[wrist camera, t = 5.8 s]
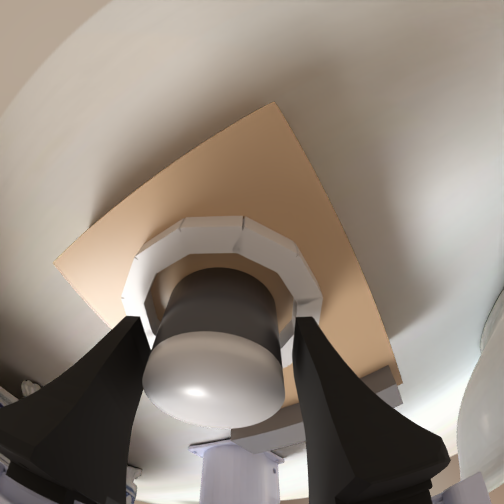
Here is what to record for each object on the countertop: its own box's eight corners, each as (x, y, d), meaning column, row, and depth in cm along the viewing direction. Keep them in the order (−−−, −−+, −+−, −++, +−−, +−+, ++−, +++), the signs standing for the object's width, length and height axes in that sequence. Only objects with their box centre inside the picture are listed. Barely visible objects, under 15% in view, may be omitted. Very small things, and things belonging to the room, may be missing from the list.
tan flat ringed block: (385, 342, 19) (409, 400, 15) (248, 398, 22) (247, 455, 17) (267, 104, 12) (279, 99, 7) (88, 229, 15) (36, 279, 10)
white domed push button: (274, 263, 12) (285, 346, 8) (277, 347, 14) (284, 426, 10) (157, 270, 12) (121, 348, 8) (181, 350, 14) (165, 426, 10)
